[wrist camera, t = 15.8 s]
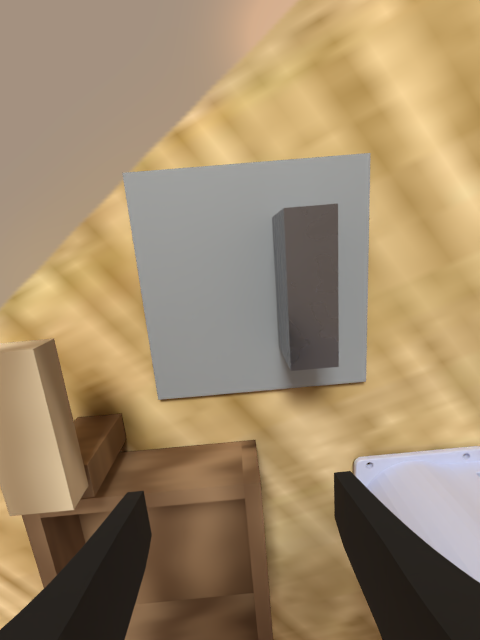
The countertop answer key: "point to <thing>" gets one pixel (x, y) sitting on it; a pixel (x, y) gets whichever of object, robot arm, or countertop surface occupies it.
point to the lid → (253, 273)
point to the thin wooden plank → (37, 432)
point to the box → (173, 533)
